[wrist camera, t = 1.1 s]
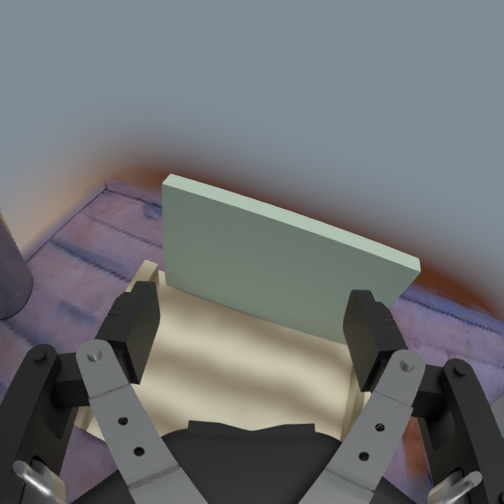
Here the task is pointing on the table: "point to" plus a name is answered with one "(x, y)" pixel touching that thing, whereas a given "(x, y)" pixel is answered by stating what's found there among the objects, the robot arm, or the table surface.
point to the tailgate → (272, 259)
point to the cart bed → (238, 370)
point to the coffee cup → (499, 413)
